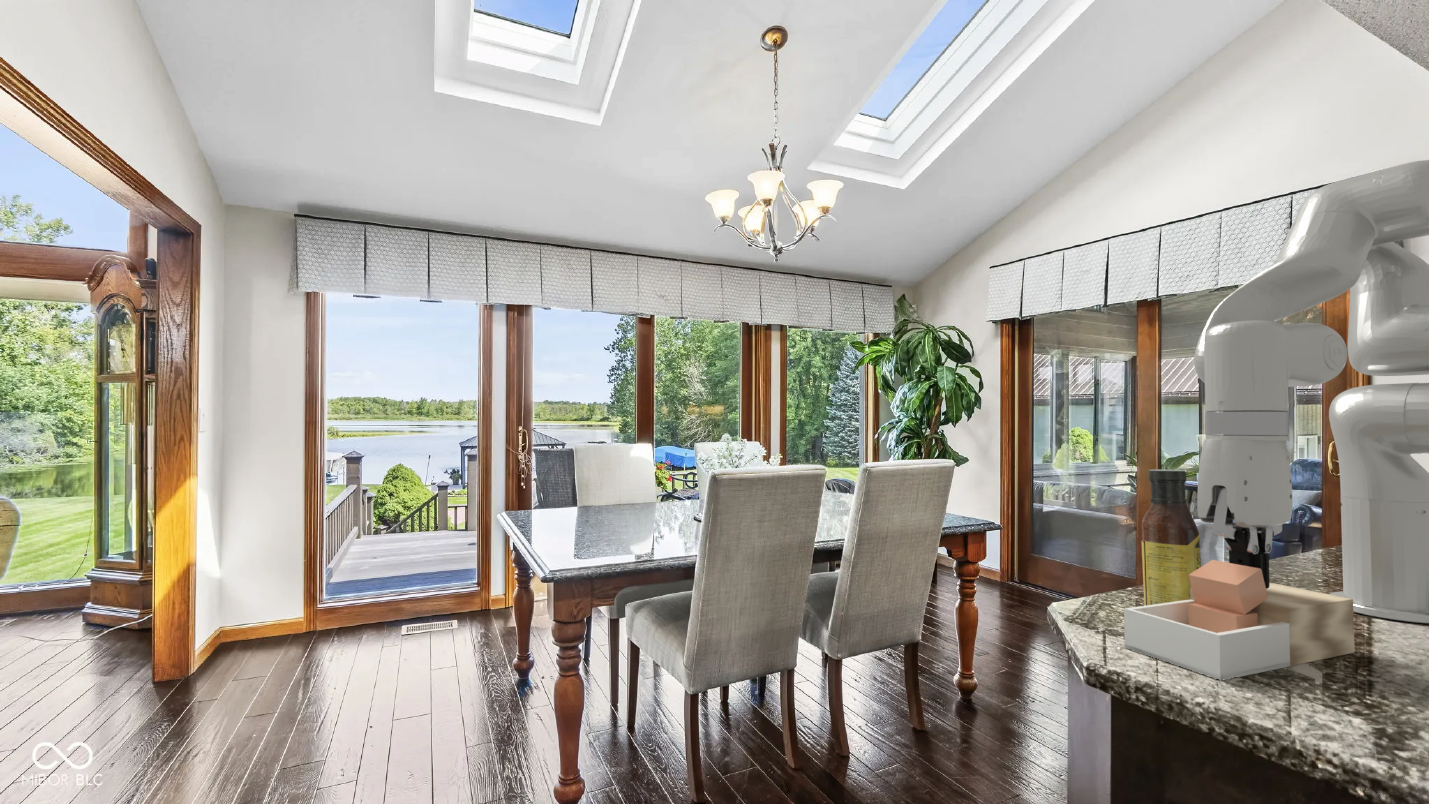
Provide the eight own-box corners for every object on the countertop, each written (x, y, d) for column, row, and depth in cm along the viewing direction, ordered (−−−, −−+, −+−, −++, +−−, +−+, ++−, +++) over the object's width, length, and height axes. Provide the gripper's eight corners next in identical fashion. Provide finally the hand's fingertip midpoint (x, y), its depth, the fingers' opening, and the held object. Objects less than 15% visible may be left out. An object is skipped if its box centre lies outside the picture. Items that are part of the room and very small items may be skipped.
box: (1191, 636, 77) (1190, 599, 77) (1290, 666, 68) (1289, 623, 68) (1124, 648, 73) (1123, 608, 73) (1220, 680, 64) (1219, 635, 64)
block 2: (1208, 601, 75) (1188, 604, 74) (1257, 613, 70) (1236, 616, 69) (1209, 640, 75) (1189, 643, 73) (1258, 654, 70) (1237, 658, 69)
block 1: (1218, 587, 76) (1212, 559, 75) (1268, 597, 71) (1261, 568, 71) (1195, 602, 74) (1188, 574, 74) (1244, 614, 69) (1237, 585, 69)
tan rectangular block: (1253, 626, 82) (1252, 579, 82) (1354, 652, 72) (1353, 599, 73) (1191, 636, 77) (1190, 587, 78) (1290, 666, 68) (1288, 609, 68)
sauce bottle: (1214, 632, 79) (1210, 472, 80) (1157, 629, 80) (1154, 471, 81) (1186, 617, 85) (1183, 468, 86) (1134, 614, 87) (1131, 467, 87)
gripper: (1249, 428, 81) (1252, 574, 80) (1169, 427, 75) (1172, 584, 75) (1323, 428, 74) (1327, 589, 73) (1241, 427, 68) (1245, 600, 68)
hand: (1249, 586), depth 74 cm, fingers closed
